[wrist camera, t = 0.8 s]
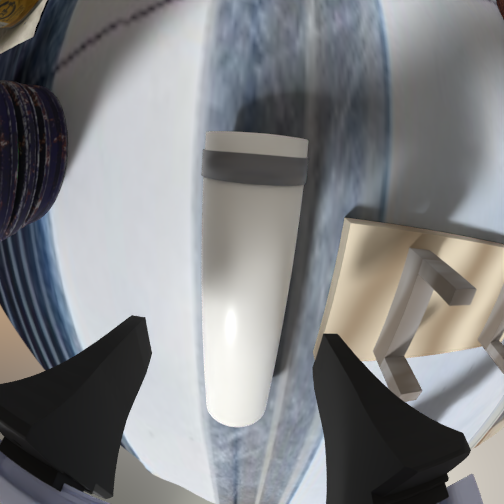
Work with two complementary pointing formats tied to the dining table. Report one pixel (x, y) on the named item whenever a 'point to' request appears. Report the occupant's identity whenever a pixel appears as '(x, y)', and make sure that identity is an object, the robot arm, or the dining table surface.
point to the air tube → (247, 264)
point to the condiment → (18, 21)
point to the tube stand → (414, 297)
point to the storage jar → (29, 154)
